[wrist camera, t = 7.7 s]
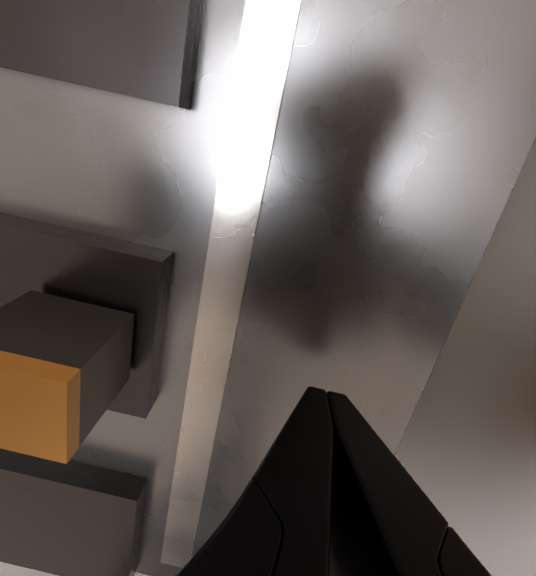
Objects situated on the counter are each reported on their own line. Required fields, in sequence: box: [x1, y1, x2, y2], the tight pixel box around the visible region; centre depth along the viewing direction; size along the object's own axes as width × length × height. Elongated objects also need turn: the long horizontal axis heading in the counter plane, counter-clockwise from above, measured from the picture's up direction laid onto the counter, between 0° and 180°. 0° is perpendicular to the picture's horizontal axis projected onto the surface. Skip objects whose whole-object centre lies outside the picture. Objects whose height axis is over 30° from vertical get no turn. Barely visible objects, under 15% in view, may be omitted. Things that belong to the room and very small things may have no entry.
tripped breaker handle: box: [0, 290, 134, 464], centre depth 8 cm, size 2×2×3 cm
